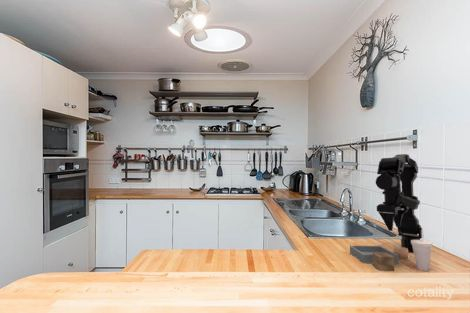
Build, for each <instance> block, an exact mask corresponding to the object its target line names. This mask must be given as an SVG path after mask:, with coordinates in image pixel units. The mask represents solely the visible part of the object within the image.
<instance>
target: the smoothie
mask: <svg viewBox="0 0 470 313" xmlns="http://www.w3.org/2000/svg"><path fill="white" fill-rule="evenodd" d="M421 234H422V238H421V239H420V240H411V244H412V247H413V252H412V253H413V256H414V260H415V261H414V262H415V266H416V269H418V270H419V271H425V272H428V271H429V272H430V270H431V269H430V268H431V257H432V256H431V254H432V247H433V242H432V241H428V240H425V236H423V235H424V229H422V230H421Z"/></svg>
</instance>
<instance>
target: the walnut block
mask: <svg viewBox="0 0 470 313" xmlns="http://www.w3.org/2000/svg"><path fill="white" fill-rule="evenodd" d="M372 256H373V263H372V267H373V268H375V269H376V270H378V271H380V272H394V271H395V264H394V257H393V256H391V255H389V254H387V253H372Z"/></svg>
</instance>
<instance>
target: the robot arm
mask: <svg viewBox="0 0 470 313" xmlns="http://www.w3.org/2000/svg"><path fill="white" fill-rule="evenodd" d="M376 173H377V175H378V176H377V177H376V179H375V185H376V186H377V188H378V189H380V190H383V191H382V195H384V197H383V198H384V201H383V202H382V203H378V204H377V205H376V212H378V214H379V215H380V217H381V219H382V220H383V222H384V225H386V227H387V229H388V231H389V232H390V231H391V232H392V231H393V230H394V225H395V227H396V228H397V232H398V237H399V236H401V238H400V247H405V248H408V253H414V252H413V247H412V244H411V240H422V234H421V230H423V228H422V226H421V224H420V222H419V219H418V217H417V216H416V214H415V211H416V210H417V209H418V208H419V205H420V204H421V200H419V198H418V196H415V195H414V183H415V181H416V179H417V177H418V173H419V167H418V163H417V161H415V160H414V159H412V158H411V157H410V155H409V154H407V153H404V154H402V153H400V154H395V155H394V156H393V157H383V158H381V159H380V160H379V162H378V167H377V172H376ZM423 236H424V234H423ZM424 237H425V236H424Z"/></svg>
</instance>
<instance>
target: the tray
mask: <svg viewBox="0 0 470 313" xmlns="http://www.w3.org/2000/svg"><path fill="white" fill-rule="evenodd" d="M372 253H387V254H389V255H391V256H393V257H394V265H395V264H397V265H398V264H400V262H399V261H400V259H398V255H397V254H395V253H394V251H392V250H389V249H387V248H385V247H383V246H381V245H349V254H351V255H353V257H354V258H356V259H357V260H359V261H360V262H362V263H363V264H373V256H372Z"/></svg>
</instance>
